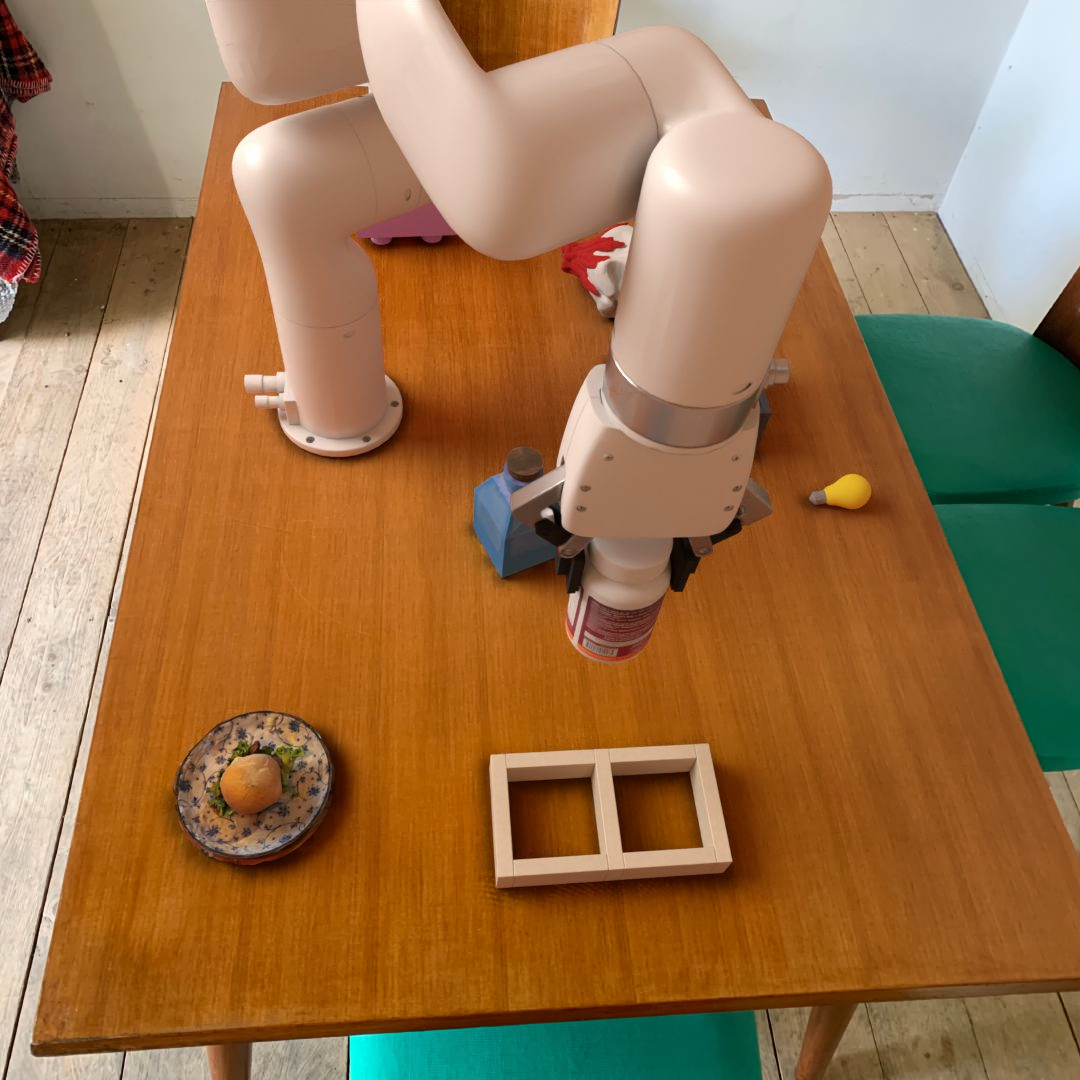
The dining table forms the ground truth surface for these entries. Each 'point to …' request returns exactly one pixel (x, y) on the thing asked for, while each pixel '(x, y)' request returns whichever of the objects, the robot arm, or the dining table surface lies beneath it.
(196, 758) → the burger
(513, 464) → the perfume bottle
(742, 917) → the dining table surface
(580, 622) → the pill bottle
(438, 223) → the teapot
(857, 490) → the light bulb
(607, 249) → the candle
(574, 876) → the frame
